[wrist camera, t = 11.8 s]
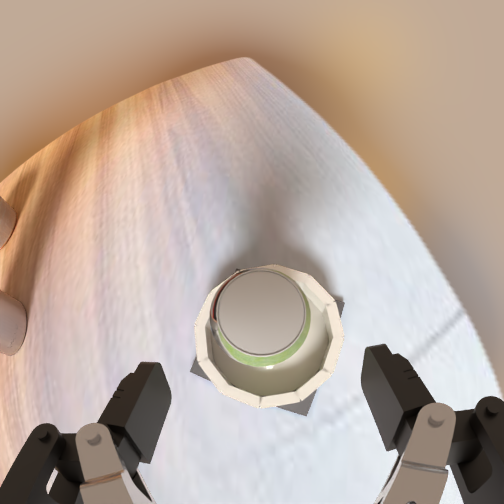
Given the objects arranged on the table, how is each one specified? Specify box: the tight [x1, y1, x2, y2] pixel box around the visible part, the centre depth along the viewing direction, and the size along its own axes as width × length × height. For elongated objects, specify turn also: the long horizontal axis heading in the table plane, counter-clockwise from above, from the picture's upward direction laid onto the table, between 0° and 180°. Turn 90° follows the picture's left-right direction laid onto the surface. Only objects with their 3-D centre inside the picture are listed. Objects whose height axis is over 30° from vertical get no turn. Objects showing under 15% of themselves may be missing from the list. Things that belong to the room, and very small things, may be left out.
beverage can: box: [209, 268, 311, 367], centre depth 20 cm, size 6×7×12 cm
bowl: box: [194, 264, 344, 409], centre depth 25 cm, size 13×13×3 cm
